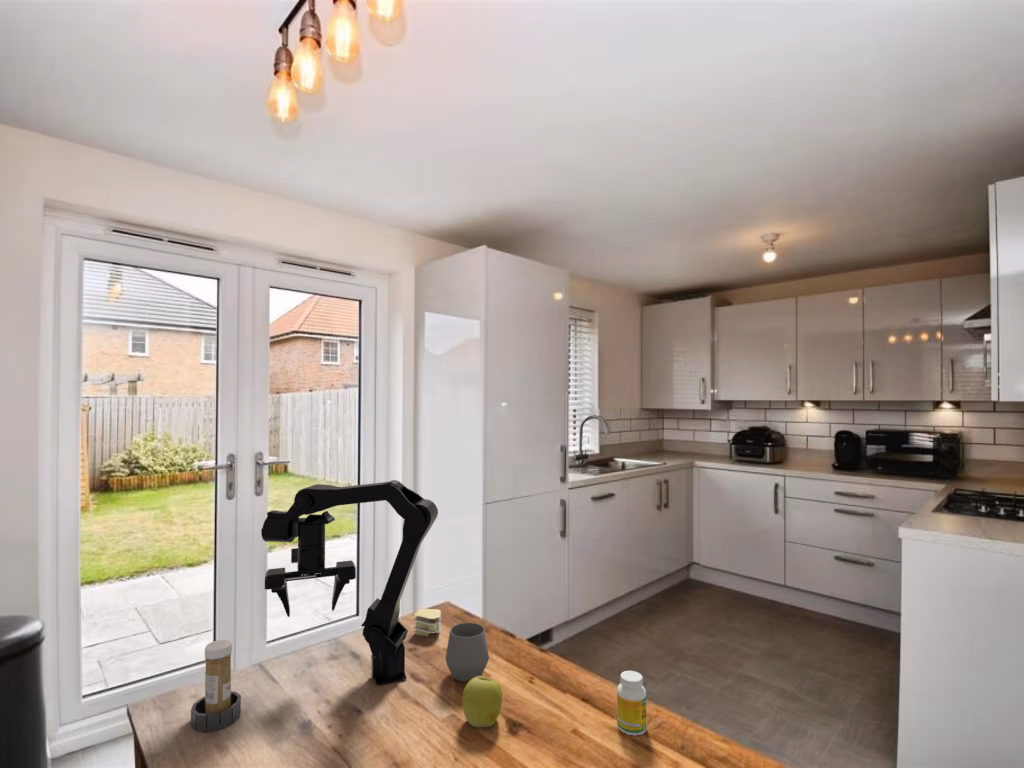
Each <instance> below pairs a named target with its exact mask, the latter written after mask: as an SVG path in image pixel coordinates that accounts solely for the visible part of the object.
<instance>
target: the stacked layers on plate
mask: <svg viewBox="0 0 1024 768" xmlns="http://www.w3.org/2000/svg"><path fill="white" fill-rule="evenodd" d="M414 616H415V618H414V619H413V621H414V622H415V626H414V628H413V629H414V630H415V636H423V635H426V636H425V637H429V636H430V634H436V633H437V634H439V633H440V631H441V627H442V623H441V619H442V610H440V609H438V608H436V609H434V608H419V609H418V610H417V611H416V612H415V613H414Z"/></svg>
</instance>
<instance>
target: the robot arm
mask: <svg viewBox="0 0 1024 768" xmlns="http://www.w3.org/2000/svg"><path fill="white" fill-rule="evenodd" d="M382 501H386V502H387V504H389V505H390V506H391V507H392V509H393V511H395V512H396V514H397V515H398V516H399V517H401V518H402V519H403V525H402V540H401V543H400V547H399V548H398V552H397V555H396V557H395V560H394V563H393V566H392V567H391V571H390V573H389V576H388V578H387V582H386V584H385V586H384V589H383V592H382V595H381V598H378V597H377V598H376V599H374V601H373V602H372V603H371V604H370V606H369V607H368V608H367V611H366V615H365V619H364V621H363V622H362V624H361V627H363V629H362V636H363V638H364V640H365V642H366V643H367V644H368V647H369V649H370V651H371V656H370V659H371V660H370V662H371V663H370V664H371V665H370V670H371V672H370V674H371V677H372V679H373V680H374V683H375V685H377V686H379V685H380V686H381V685H385V684H391V683H396V682H401V681H405V680H407V674H406V672H405V671H406V666H405V664H406V659H405V658H406V655H405V654H406V652H405V651H406V649H405V648H406V647H405V645H404V640H405V639H406V638H407V634H408V632H409V631H408V629H407V628H406V627H405V626H404V625H403V624H402V622H400V620H399V618H400V611H401V599H402V596H403V594H404V591H405V589H406V586H407V584H408V583H407V582H408V581H409V577H410V574H411V571H412V569H413V566H414V563H415V561H416V557H417V556H418V552H419V549H420V547H421V544H422V542H423V541H424V539H425V538H426V536H427V534H428V533H429V531H430V530H431V528H432V526H433V525H434V523H435V521H436V519H437V518H438V515H439V510H438V507H437V505H436V504H435V503H434V501H431V500H430V499H427V498H426V499H425V498H424V497H422V496H421V495H420V494H419V493H417V492H415V491H414V490H412V489H410V488H408V487H407V486H405V485H404V484H403V483H402V482H400V481H399V480H396V479H392V480H389V481H386V482H385V481H384V482H373V483H368V484H367V483H366V484H357V485H348V486H346V485H345V486H336V485H332V484H321V483H320V484H319V483H317V484H312V485H310V486H307V487H304V488H302V489H300V490H298V491H297V493H296V494H295V496H294V500H293V503H292V504H291V506H290V507H289V509H288V510H287V511H280V510H270V511H268V512H266V513H267V514H266V518H265V520H264V522H263V525H262V528H261V538H262V540H263V541H264V542H266V543H292V542H293V541H295V539H297V547H295V548H291V550H290V553H291V554H290V558H291V559H290V563H291V564H297V565H296V566H297V570H295V571H286V567H278V568H269V569H267V570H266V572H265V575H264V576H265V577H264V590H266V591H267V590H270V592H271V593H272V594H273V593H274V594H275V593H276V595H277V596H278V598H279V600H280V601H281V603H282V606H283V608H284V611H285V613H286V614H285V615H287V618H290V615H291V613H290V612H291V610H290V609H291V606H290V598H289V591H288V582H291V581H300V580H301V581H302V580H308V579H309V580H311V579H319V578H326V577H327V578H328V577H329V578H330V577H334V581H333V590H332V598H331V612H334V611H335V609H336V606H337V603H338V600H339V598H340V596H341V593H342V591H343V590H344V588H345V587H346V585H349V584H350V581H351V580H355V579H356V578H357V574H356V573H357V567H356V565H355V562H354V561H353V560H343V561H336V563H335V564H336V565H335V566H333V567H331V566H330V567H326V525H329V524H331V523H332V522H334V521H335V520H336V518H335V517H334V516H333V515H331V514H330V513H329V511H328V510H329V509H332V508H334V507H337V506H338V507H339V506H344V505H345V506H346V505H356V504H362V503H363V504H364V503H372V502H382ZM322 511H323V512H322ZM319 512H322V513H321V514H316V513H319ZM304 515H306V517H301V516H304Z"/></svg>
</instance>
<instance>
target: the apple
mask: <svg viewBox="0 0 1024 768" xmlns="http://www.w3.org/2000/svg"><path fill="white" fill-rule="evenodd" d="M477 672H478V671H477ZM478 673H479V672H478ZM479 674H480V673H479ZM480 675H481V674H480ZM466 683H467V684H465V687H464V690H463V692H462V698H461V700H462V709H463V714H464V717H465V719H466V720H467V722H468V723H469V724H470V725H471V727H474V728H490V727H492V726H493V725H494V724H495V723H496V721H497V719H498V717H499V715H500V712H501V709H502V705H503V691H502V687H501V685H500V683H498V681H496V680H493V679H491V678H489V677H487V676H484V675H481V676H477V677H474V678H472V679H471V680H470V681H469V682H466Z"/></svg>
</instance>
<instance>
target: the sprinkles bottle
mask: <svg viewBox="0 0 1024 768" xmlns="http://www.w3.org/2000/svg"><path fill="white" fill-rule="evenodd" d="M232 652H233V642H232V641H231V640H229V639H219V640H214V641H212V642H209V643H208V644H207V645H205V647H204V659H205V675H204V677H205V678H204V680H205V681H204V693H205V694H204V697H205V701H206V713H205V714H211V713H216V712H221V711H223V710H225V709H227V708H230V707H231V691H232V669H231V668H232V667H231V665H232V664H231V663H232V662H231V659H232V657H231V656H232Z"/></svg>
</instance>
